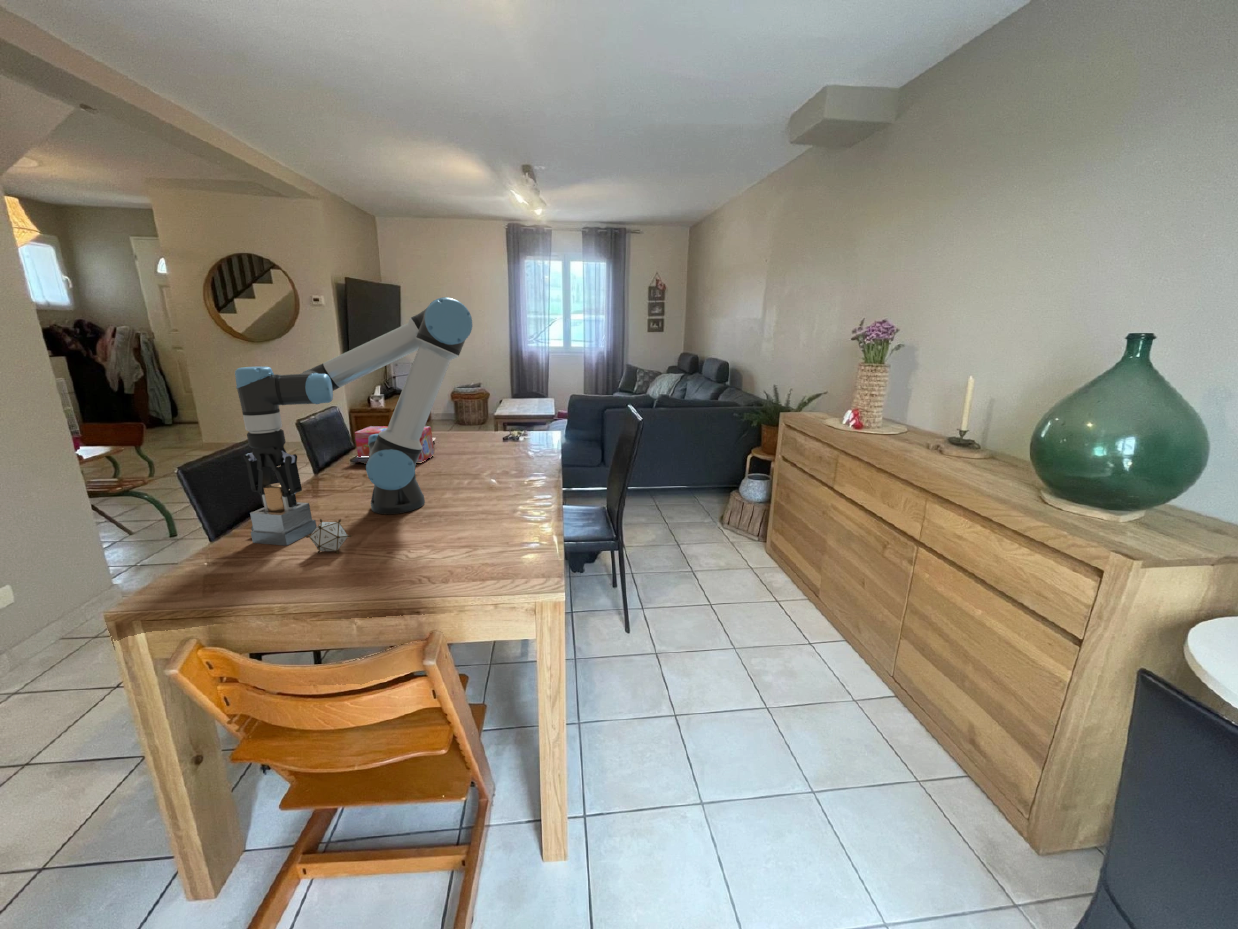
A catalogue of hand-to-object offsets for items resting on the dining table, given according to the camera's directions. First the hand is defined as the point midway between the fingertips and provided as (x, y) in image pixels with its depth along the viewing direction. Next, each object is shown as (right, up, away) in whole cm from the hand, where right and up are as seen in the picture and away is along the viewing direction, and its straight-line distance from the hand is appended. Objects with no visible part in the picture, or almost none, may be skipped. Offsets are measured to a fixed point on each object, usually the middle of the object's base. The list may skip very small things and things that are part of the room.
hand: (282, 517), depth 127 cm
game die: (+17, -8, -7) cm, 20 cm away
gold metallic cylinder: (0, -2, +1) cm, 2 cm away
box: (-5, +15, +77) cm, 79 cm away
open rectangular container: (-2, -5, +2) cm, 6 cm away
